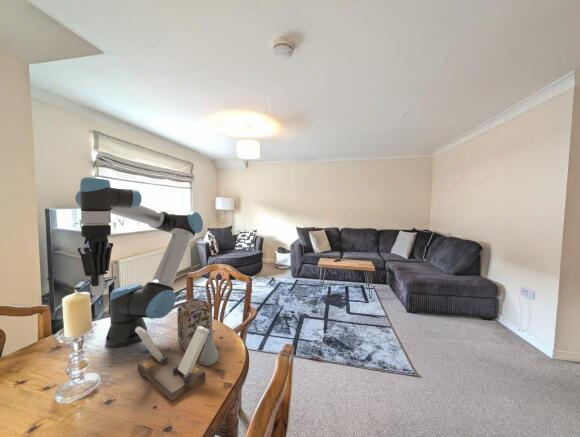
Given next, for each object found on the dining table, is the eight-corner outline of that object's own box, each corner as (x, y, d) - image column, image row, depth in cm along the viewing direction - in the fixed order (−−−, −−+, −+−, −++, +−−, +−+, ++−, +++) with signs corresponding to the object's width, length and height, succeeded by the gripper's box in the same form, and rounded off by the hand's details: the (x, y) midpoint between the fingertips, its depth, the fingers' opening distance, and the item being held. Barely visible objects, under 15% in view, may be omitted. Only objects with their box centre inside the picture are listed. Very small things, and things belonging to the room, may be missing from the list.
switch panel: (172, 401, 66) (171, 387, 66) (137, 369, 80) (137, 357, 80) (205, 379, 75) (205, 366, 75) (169, 354, 89) (169, 343, 89)
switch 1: (159, 362, 79) (140, 334, 74) (152, 356, 83) (132, 329, 78) (165, 357, 81) (146, 329, 76) (157, 352, 84) (138, 324, 79)
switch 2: (186, 376, 71) (207, 329, 78) (176, 368, 75) (197, 324, 81) (191, 376, 73) (211, 330, 79) (181, 369, 76) (201, 325, 82)
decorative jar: (184, 352, 91) (183, 307, 90) (177, 339, 100) (176, 299, 99) (213, 341, 98) (212, 300, 98) (204, 330, 107) (204, 293, 107)
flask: (213, 367, 81) (212, 340, 81) (195, 365, 82) (194, 338, 82) (223, 355, 88) (222, 330, 88) (206, 353, 90) (205, 328, 89)
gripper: (98, 223, 82) (100, 288, 82) (67, 225, 69) (69, 302, 69) (120, 223, 82) (122, 287, 83) (94, 225, 69) (95, 301, 70)
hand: (98, 294), depth 76 cm, fingers closed
